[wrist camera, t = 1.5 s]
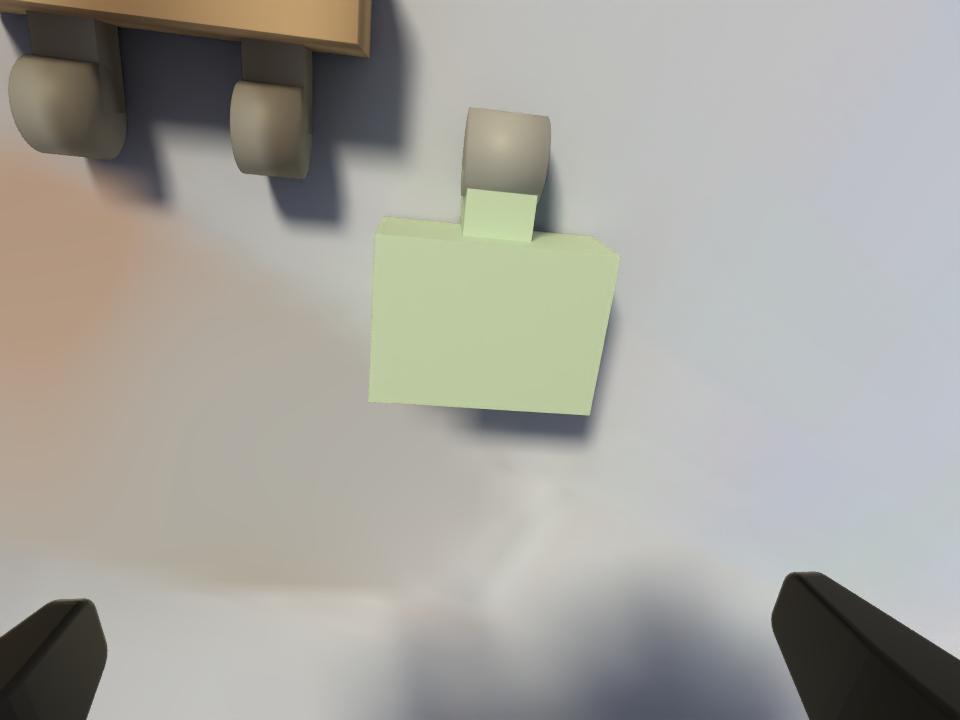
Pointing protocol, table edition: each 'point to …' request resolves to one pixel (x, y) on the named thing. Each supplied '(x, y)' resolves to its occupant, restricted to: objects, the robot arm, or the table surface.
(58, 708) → the robot arm
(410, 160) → the table surface
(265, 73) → the hinge base
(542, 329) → the hinge leaf
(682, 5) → the table surface
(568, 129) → the table surface
